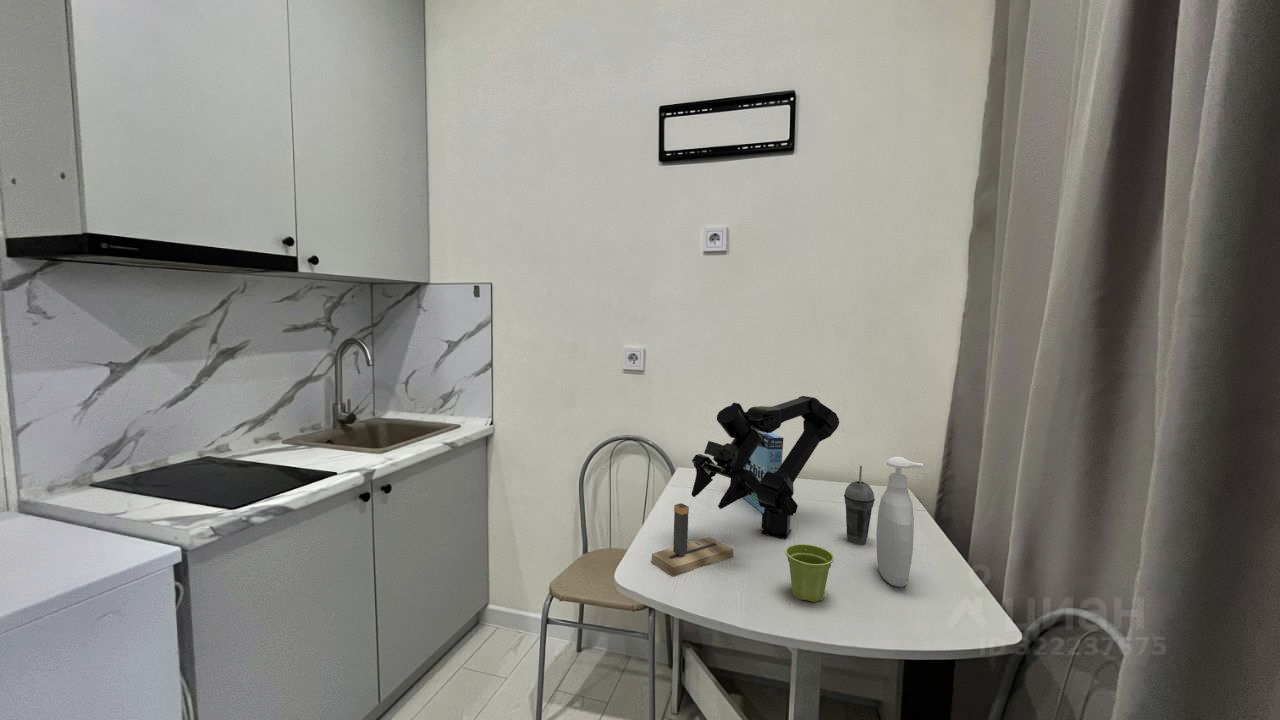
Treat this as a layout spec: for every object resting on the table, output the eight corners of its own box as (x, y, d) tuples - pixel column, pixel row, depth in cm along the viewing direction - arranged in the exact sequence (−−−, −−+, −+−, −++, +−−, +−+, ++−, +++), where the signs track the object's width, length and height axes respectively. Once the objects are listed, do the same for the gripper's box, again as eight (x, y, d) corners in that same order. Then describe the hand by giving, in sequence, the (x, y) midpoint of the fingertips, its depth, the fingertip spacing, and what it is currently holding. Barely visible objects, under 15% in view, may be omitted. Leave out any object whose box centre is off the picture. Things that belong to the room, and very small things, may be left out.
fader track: (710, 544, 129) (710, 536, 129) (733, 556, 122) (733, 547, 122) (651, 562, 119) (651, 553, 118) (673, 576, 112) (673, 567, 112)
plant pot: (807, 611, 100) (810, 568, 99) (773, 589, 108) (775, 548, 107) (842, 600, 104) (844, 558, 103) (807, 579, 112) (809, 540, 112)
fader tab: (680, 549, 120) (681, 503, 119) (687, 553, 118) (688, 506, 117) (672, 551, 118) (674, 504, 118) (680, 556, 116) (681, 508, 116)
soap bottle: (927, 597, 106) (935, 467, 104) (884, 592, 108) (892, 464, 106) (905, 564, 120) (912, 450, 118) (867, 560, 122) (874, 448, 120)
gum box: (737, 493, 168) (740, 423, 166) (751, 492, 169) (754, 423, 167) (764, 515, 149) (767, 437, 147) (780, 514, 150) (784, 437, 148)
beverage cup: (872, 538, 135) (877, 463, 133) (872, 549, 128) (876, 470, 127) (842, 533, 138) (846, 459, 136) (840, 543, 131) (844, 466, 130)
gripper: (698, 422, 131) (662, 471, 125) (754, 436, 116) (716, 493, 110) (720, 449, 136) (686, 497, 130) (776, 466, 121) (741, 522, 115)
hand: (705, 501), depth 121 cm, fingers open, 9 cm apart
